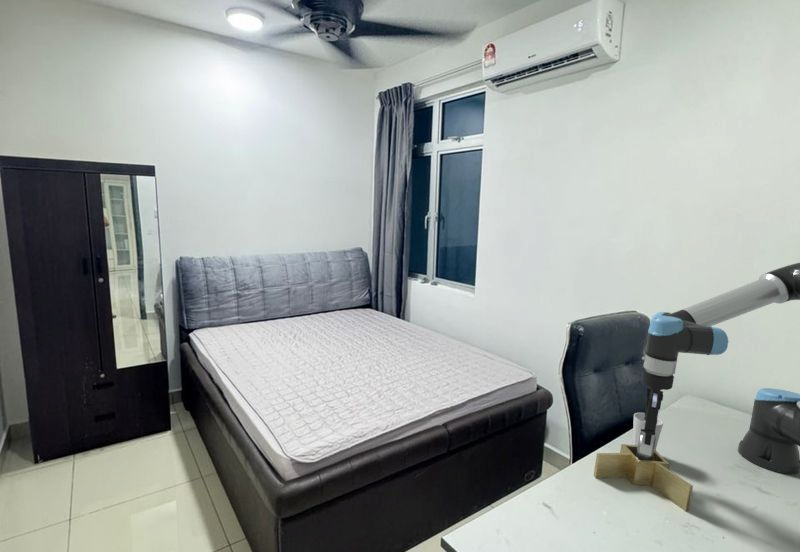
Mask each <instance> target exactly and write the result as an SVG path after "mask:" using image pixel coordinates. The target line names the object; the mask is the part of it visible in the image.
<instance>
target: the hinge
mask: <svg viewBox="0 0 800 552" xmlns="http://www.w3.org/2000/svg"><path fill="white" fill-rule="evenodd" d="M637 447H638V445H632V444H624V443H623V444H621V445H620V451H619V452H601V453H600V452H599V453H596V456H595V464H594V471H593V477H594V478H595V479H607V478H606V477H615V478H627V479H628V480H629V481H630V482H631V483H632V484H633V485H634V486H648V487H651V488H653V489H654V490H656V491H657V492H658V493H660V494H662V496H664V497H665V498H667V499H669V500H670V501H671V502H672V503H673V504H675V505H676V506H677V507H679V508H680V509H682V510H683V511H684V512H687V511H689V509H690V503H691V500H692V494H693V488H694V485H693V484H691V483H689V482H688V481H686V480H685V479H683V478H682V477H680V476H679V475H677V474H676V473H675V472H673V471H671V470H670V469H669V468H670V463H669V462H668V461H667V460H666V459H665V458H664V457H663V456H662V455H661V454H660V453H659V452H658V451H657V450H655V449H654V452H653V458H652V461H646V460H638V458H637V457H636V453H637ZM603 477H604V478H603Z"/></svg>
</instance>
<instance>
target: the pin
mask: <svg viewBox="0 0 800 552" xmlns="http://www.w3.org/2000/svg"><path fill="white" fill-rule="evenodd" d="M642 435H643V432H641V433H640V435H639V441H638V447H637V453H636V457H637V458H638V460H646V461H652V458H653V452H654V447H655V441H656V437H655V436H654V440H653V446H652V452H651V456H649V455H646V454H642V453H640V447H641V441H642Z"/></svg>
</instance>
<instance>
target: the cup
mask: <svg viewBox="0 0 800 552" xmlns="http://www.w3.org/2000/svg"><path fill="white" fill-rule="evenodd" d="M644 417H645V412H635V413H634V414H633V423H632V424H633V426H632V427H633V429H632V441H631V443H632V444H631V445H638V441H639V435H640V433H641V432H642V431H641V429H643V423H644V421H646V420H645V419H644ZM663 426H664V421H663V420H662V419H660V418H659V417H657V423H656V429H655V435H654V436H655V437H656V441H655V447H654V449H655V450H656V449H657V446H658V444H659V439H660V435H661V433H662V428H663ZM656 451H657V450H656Z"/></svg>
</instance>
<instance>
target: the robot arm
mask: <svg viewBox="0 0 800 552" xmlns="http://www.w3.org/2000/svg"><path fill="white" fill-rule="evenodd" d="M790 301H800V262H797V263H792V264H788V265H785V266H783V267H782V266H781V267H779V268H776V269H773V270H770V271H769V272H768V271H767V272H765V273H763V274H761V275H760V276H759V277H758V279H757V280H755V281H752V282H750V283H747V284H744V285H742V286H739V287H737V288H734V289H731V290H729V291H726V292H724V293H722V294H719V295H716V296H713V297H710V298H708V299H706V300H703V301H700V302H698V303H696V304H693V305H691V306H687V307H685V308H682V309H680V310H677V311H674V312H672V313H671V312H667V311H660V312H656V314H654V315H652V318H651V320H650V321H649V322H650V323H649V326H648V327H649V328H648V330H647V331H648V332H647V340H646V347H645V355H644V356H642V357H641V360H643V361H644V362H643V366H642V367H643V369H642V371H641V377H640V381H641V383H642V384H643V385H645V386H647V388H646V393H645V401H646V402H645V412H644V413H645V417H644V419H645V420H646V421H644V423H643V429H641V431H642V432H643V435H642V441H641V447H640V453H642V454H646V455H649V456H651V452H652V446H653V440H654V435H655V429H656V423H657V417H658V415H659V411H660V410H661V404H662V401H663V400H664V391H665V390H666V391H669V390H671V389H672V388H673V385H674V379H675V376H674V375H675V374H676V370H677V363H678V356H679V354H680V353H683V354H694V355H695V354H696V355H706V356H714V355H715V356H718V355H719V356H720V355H722V354H724V353H725V352H726V351H727V349H728V348H729V347H728V345H729V337H728V334H727V333H726V332H725V330H724V329H722V328H719V327H715V325H718V324H721V323H724V322H727V321H729V320H731V319H735V318H737V317H739V316H741V315H744V314H747V313H751V312H753V311H755V310H758V309H760V308H763V307H766V306H770V305H771V304H774V303H775V304H778V305H779V304H780V305H781V304H784V303H786V302H790ZM713 326H714V327H713ZM648 386H649V387H648ZM663 390H664V391H663ZM658 418H659V417H658ZM799 447H800V393H797V392H793V391H790V390H784V389H777V388H770V387H769V388H768V387H765V388H764V387H763V388H760V389H759V390H757V392H756V396H755V398H754V402H753V408H752V412H751V419H750V425H749V429H748V430H747V432H746V433H745V435H744V437H743V439H742V440H740V441H739V443H738V446H737V451H738V452H737V453H739V455H741V456H742V457H743V458H744V459H746V460H747V461H749V462H750V463H753V464H755V465H757V466H758V467H760V468H764V469H767V470H770V471H773V472H777V473H779V474H780V473H781V474H789V475H794V474H795V475H796V474H799V473H800V451H799Z"/></svg>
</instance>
